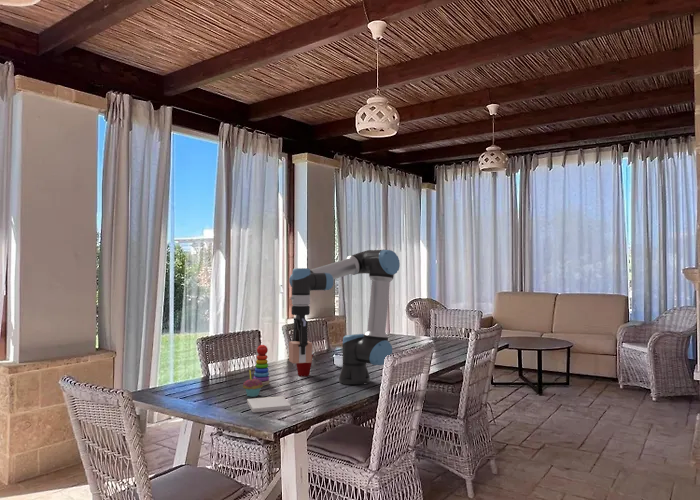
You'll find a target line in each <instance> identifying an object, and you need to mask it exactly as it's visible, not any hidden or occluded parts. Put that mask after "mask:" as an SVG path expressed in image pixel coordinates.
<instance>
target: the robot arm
mask: <svg viewBox="0 0 700 500" xmlns="http://www.w3.org/2000/svg"><path fill="white" fill-rule="evenodd" d="M400 265H401V264H400V259H399V256H398V255H397V253H396V252H395V251H393V250H392V249H368V250H364V251H360V252H358V253H355V254H352V255H349V256H347V257H346V259H343V260H338V261H336V262H335V261H334V262H331V263H329V264H325V265H321V266H318V267H315V268H312V269H310V268H306V267H305V268H303V267H302V268H301V267H300V268H299V267H297V268H296V267H295V268H293V269H292V274H291V275H290V276H289V281H288V282H289V286H290V287H291V297H290V300H291V315H292V316H295V317H294V318H293V334H292V335H293V337H292V341H300V345H298V347H299V363H304V362H306V345H308V341H309V340H308V320H307V319H306V316H308V315H310V314H311V313H310V310H311V308H310V304H311V292H312V291H325V292H326V291H329V290H331V289H332V288H333V286H334V283H335V282H334V281H335V280H336V279H339V278H342V277H346V276H349V275H351V276H352V275H353V276H356V275H359V274H368V278H369V279H370V280H371V284H370V285H371V286H370V298H369V309H368V319H367V329H366V331H365V332H364V333H357V334H346V335H344V336H343V338H342V344H341V345H342V367H341V370H340V373H339V377H338V382H339V383H340V384H342V383H343V385H346V384H363V385H365V384H364V383H368V382H369V383H370V382H371V376H370V373H369V370H368V367H367V364H370V365H373V366H383V365H385V364H384V359H385V357H386V356H387V355H390V354H392V355H393V347H392V344H391V342H390V341H389V336H388V334H387V332H386V329H387V319H388V309H389V307H388V306H389V298H390V297H389V294H390V285H391V281H393V280H394V276H395V274H397V273H398V271H399V270H400ZM303 342H304V343H303ZM369 383H368V384H369Z"/></svg>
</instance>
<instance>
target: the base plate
mask: <svg viewBox="0 0 700 500" xmlns="http://www.w3.org/2000/svg"><path fill="white" fill-rule="evenodd" d="M246 403H247V404H248V406H249V409H250V410H251V413H264V412H272V411H284V410H292V409H291V408H292V405H291V403H290V402H289V401H288V400H287V399H286V398H285V397H284V396H283V395H279V396H270V397H269V396H268V397H257V398H256V397H253V398H247V399H246Z"/></svg>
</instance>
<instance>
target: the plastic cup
mask: <svg viewBox="0 0 700 500" xmlns="http://www.w3.org/2000/svg"><path fill="white" fill-rule="evenodd" d="M314 354H315V352H314V350H312V359H313V357H314ZM295 364H296V365H295V366H296V369H297V371H296V372H297V375H298V376H299V377H309V376H310V374H311V368H312V364H313V362H312V363H295Z"/></svg>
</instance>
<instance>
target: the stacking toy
mask: <svg viewBox="0 0 700 500" xmlns="http://www.w3.org/2000/svg"><path fill="white" fill-rule="evenodd" d="M268 351H269V349H268V347H267V345H265V344H260V345H258V346H257V348H256V352H257V354H258V355H257V356H256V361H255V363H256V364H255V368H254V373H253V374H254V375H253V378H252V379H258V380H260V381H261V382H262V384H263V387H265V386H269V384H270V376H269V375H270V372H269V364H268V362H269V360H268V355H267V353H268Z"/></svg>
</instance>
